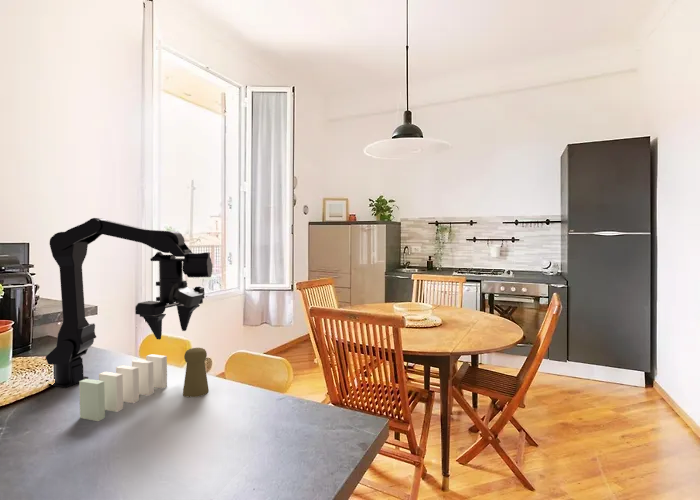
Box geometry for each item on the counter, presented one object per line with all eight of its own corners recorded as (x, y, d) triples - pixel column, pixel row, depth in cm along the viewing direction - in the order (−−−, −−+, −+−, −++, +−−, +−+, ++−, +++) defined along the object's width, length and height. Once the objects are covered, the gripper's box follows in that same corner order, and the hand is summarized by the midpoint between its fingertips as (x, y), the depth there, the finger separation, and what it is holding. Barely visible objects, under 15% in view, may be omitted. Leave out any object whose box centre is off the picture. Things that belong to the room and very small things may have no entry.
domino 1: (116, 411, 86) (116, 376, 86) (99, 408, 88) (98, 373, 87) (122, 408, 88) (122, 374, 87) (105, 405, 89) (105, 371, 89)
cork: (199, 398, 94) (199, 353, 93) (177, 395, 95) (177, 351, 94) (213, 388, 100) (213, 346, 99) (192, 386, 101) (192, 344, 100)
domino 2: (133, 403, 90) (133, 369, 90) (116, 400, 92) (116, 367, 92) (139, 400, 92) (138, 367, 92) (122, 397, 93) (121, 365, 93)
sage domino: (98, 421, 82) (97, 384, 82) (80, 418, 83) (79, 381, 83) (105, 417, 83) (104, 381, 83) (86, 414, 85) (86, 378, 84)
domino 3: (148, 395, 95) (148, 363, 94) (132, 393, 96) (131, 361, 96) (153, 393, 96) (153, 361, 96) (137, 390, 98) (137, 359, 97)
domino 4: (162, 388, 99) (162, 357, 99) (146, 386, 101) (146, 355, 100) (167, 386, 101) (166, 356, 100) (151, 384, 102) (151, 354, 102)
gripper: (169, 283, 93) (170, 347, 94) (218, 275, 111) (218, 329, 112) (133, 281, 97) (134, 343, 97) (186, 273, 114) (187, 326, 115)
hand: (171, 334), depth 105 cm, fingers open, 9 cm apart
